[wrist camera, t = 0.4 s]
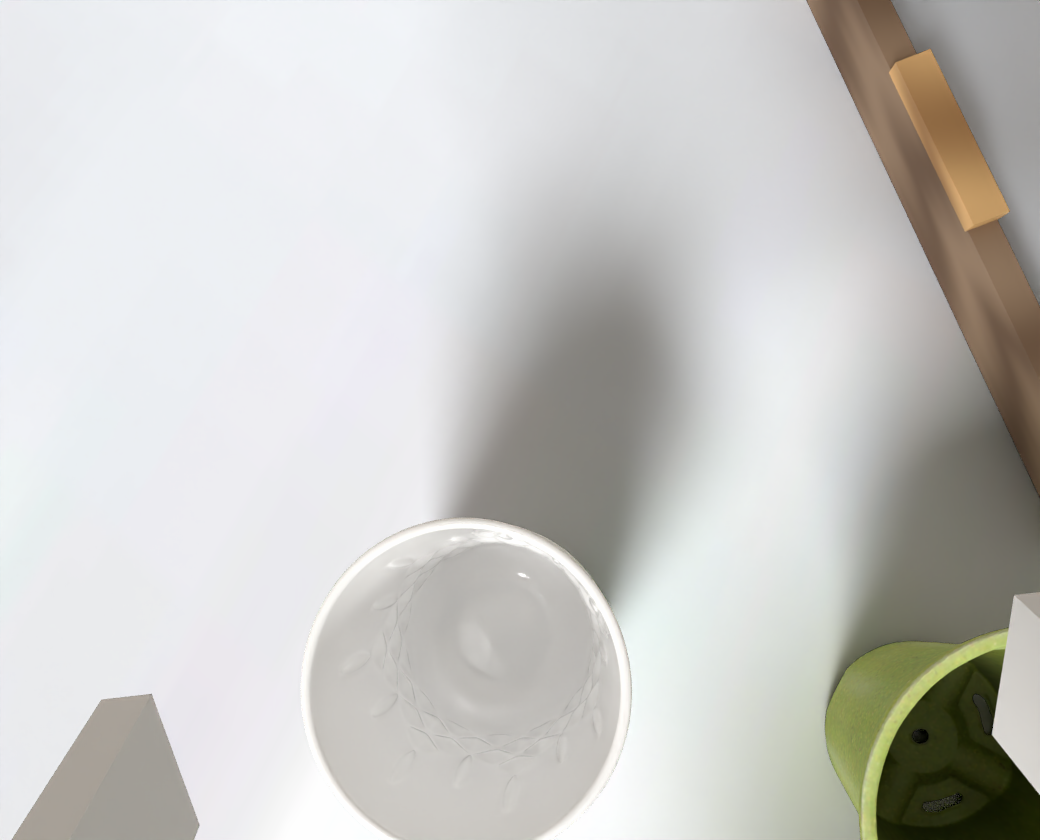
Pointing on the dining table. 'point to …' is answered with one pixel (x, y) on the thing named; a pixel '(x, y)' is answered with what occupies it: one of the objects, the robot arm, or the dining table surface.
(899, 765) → the plant pot
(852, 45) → the brown parallel rails
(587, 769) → the white cup
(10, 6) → the dining table surface
